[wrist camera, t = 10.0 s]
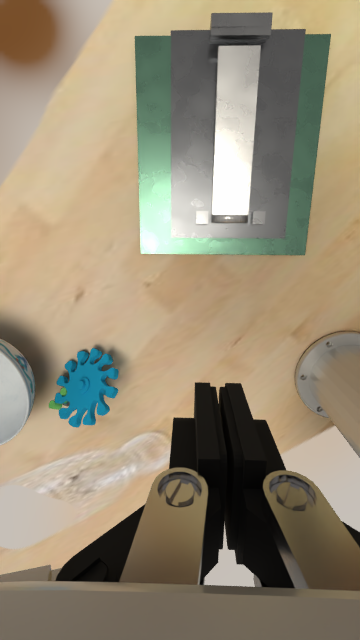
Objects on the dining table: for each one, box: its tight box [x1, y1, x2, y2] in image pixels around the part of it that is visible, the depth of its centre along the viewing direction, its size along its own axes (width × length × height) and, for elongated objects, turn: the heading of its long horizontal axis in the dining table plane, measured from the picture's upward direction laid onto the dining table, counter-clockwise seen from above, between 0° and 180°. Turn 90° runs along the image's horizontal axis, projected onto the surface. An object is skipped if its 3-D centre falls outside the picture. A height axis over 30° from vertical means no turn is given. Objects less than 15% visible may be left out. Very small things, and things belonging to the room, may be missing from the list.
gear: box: [49, 348, 119, 427], centre depth 41 cm, size 11×6×10 cm
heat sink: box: [135, 13, 331, 255], centre depth 31 cm, size 20×22×8 cm
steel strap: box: [211, 45, 261, 223], centre depth 29 cm, size 4×14×1 cm, turn 0°
